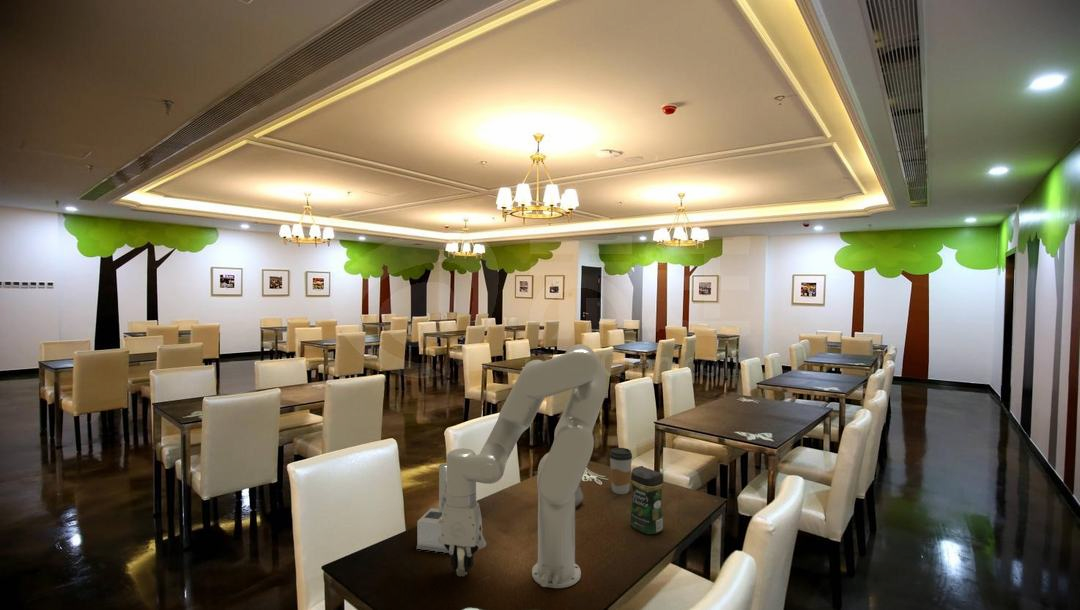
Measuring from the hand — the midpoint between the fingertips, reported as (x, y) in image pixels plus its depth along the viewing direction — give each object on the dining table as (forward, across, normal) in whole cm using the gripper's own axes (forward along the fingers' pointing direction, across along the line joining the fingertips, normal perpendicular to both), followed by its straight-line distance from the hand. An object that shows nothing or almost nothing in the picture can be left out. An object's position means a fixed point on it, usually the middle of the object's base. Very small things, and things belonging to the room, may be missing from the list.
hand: (462, 568), depth 132 cm
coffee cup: (+2, +36, +65) cm, 74 cm away
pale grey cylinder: (+1, 0, 0) cm, 1 cm away
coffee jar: (+2, +46, +37) cm, 59 cm away
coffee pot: (+2, +16, +45) cm, 48 cm away
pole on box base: (+1, -11, +16) cm, 20 cm away
